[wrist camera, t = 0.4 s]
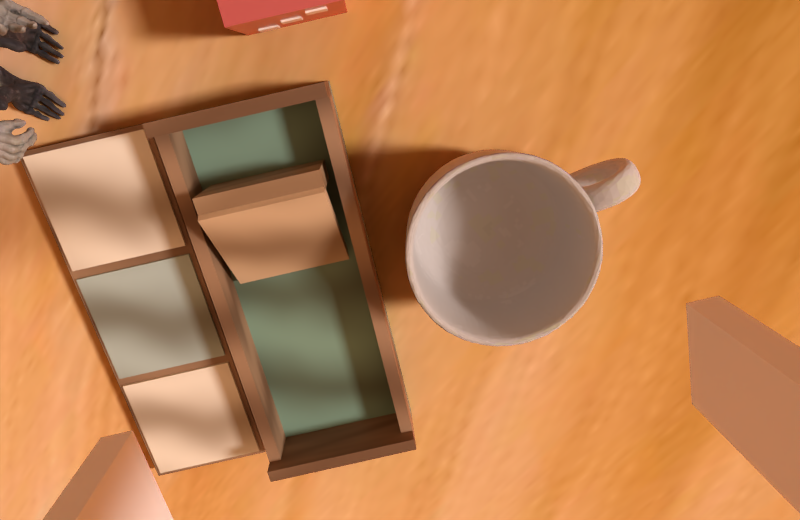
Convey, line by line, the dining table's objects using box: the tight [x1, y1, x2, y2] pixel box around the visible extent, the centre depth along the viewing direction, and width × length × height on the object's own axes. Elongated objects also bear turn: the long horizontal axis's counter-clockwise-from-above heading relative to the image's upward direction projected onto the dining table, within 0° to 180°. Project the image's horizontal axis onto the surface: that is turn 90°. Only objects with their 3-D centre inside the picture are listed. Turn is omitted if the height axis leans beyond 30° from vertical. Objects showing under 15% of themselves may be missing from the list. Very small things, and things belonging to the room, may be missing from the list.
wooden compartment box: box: [21, 81, 416, 482], centre depth 36 cm, size 24×19×5 cm
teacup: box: [405, 150, 641, 346], centre depth 34 cm, size 14×11×8 cm
